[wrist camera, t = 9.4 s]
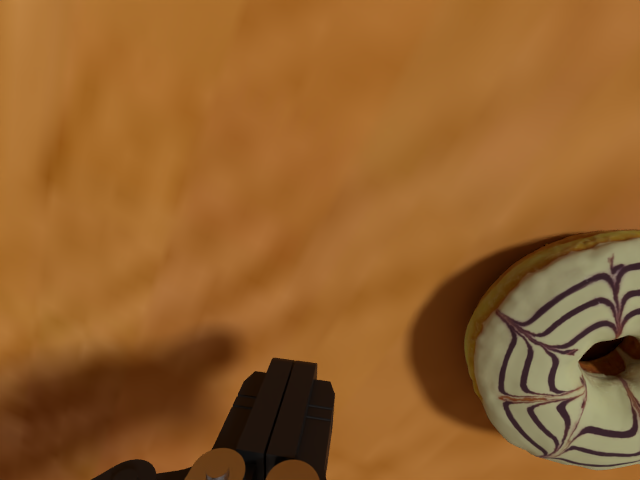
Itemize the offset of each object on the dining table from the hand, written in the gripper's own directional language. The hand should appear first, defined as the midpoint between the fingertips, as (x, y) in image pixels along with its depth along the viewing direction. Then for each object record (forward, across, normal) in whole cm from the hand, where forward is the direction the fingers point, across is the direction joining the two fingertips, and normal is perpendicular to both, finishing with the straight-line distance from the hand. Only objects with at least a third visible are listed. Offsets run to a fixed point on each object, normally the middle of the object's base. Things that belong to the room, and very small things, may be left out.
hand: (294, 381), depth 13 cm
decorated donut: (+6, -12, 0) cm, 14 cm away
